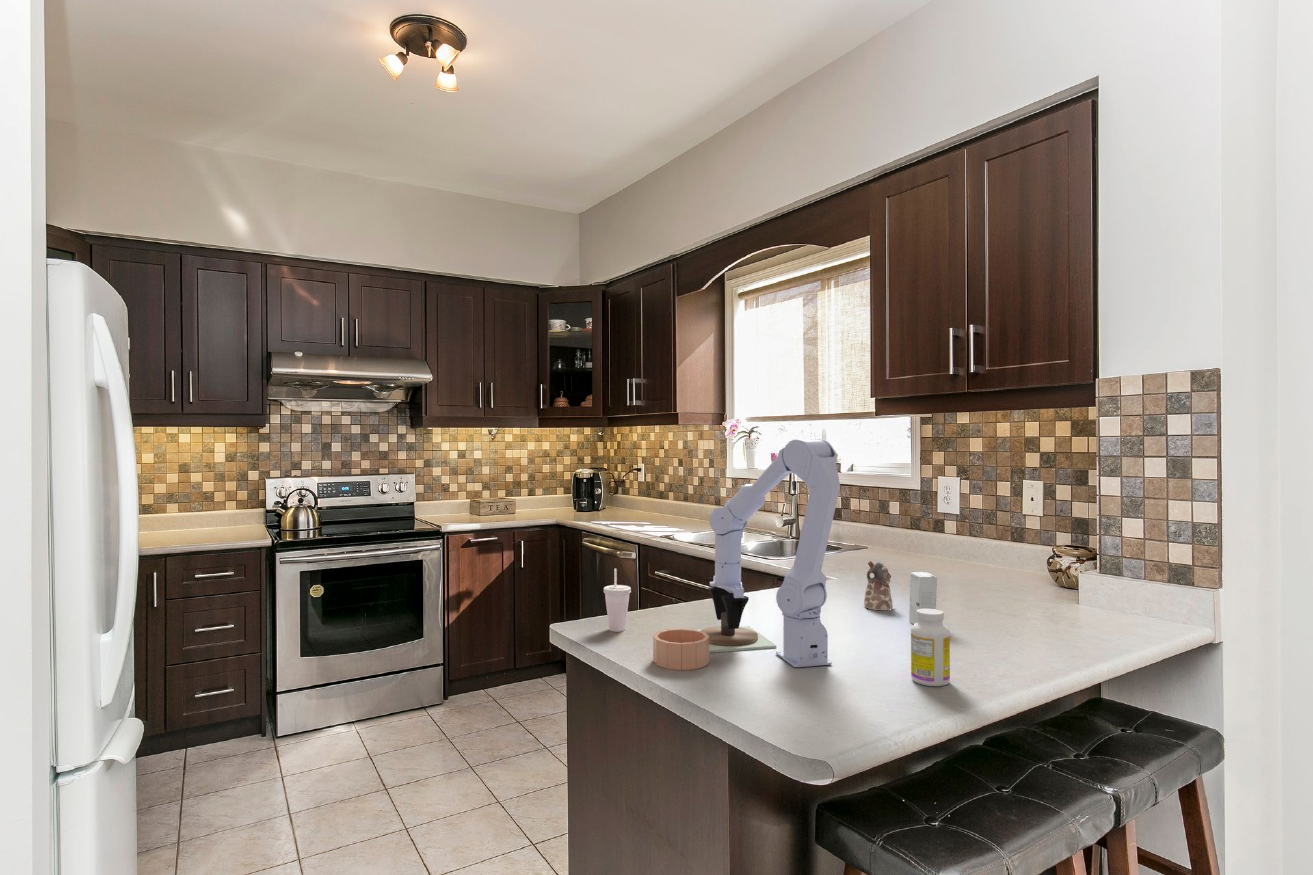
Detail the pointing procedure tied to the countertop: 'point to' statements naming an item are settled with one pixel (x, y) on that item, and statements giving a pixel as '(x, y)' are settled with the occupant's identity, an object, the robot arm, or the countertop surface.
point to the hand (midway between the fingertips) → (727, 623)
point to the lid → (730, 634)
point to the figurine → (878, 588)
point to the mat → (759, 644)
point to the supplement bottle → (930, 649)
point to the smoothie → (617, 604)
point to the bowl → (681, 649)
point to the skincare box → (922, 593)
